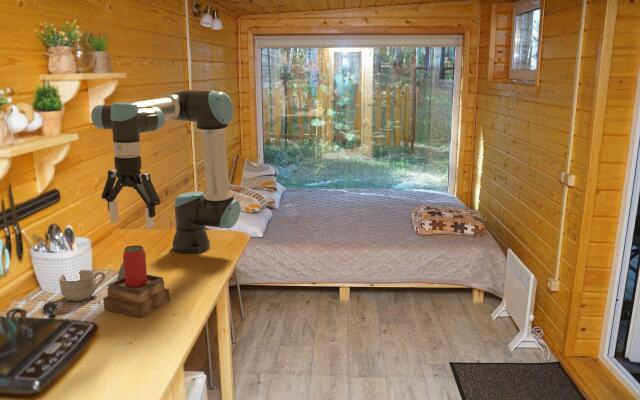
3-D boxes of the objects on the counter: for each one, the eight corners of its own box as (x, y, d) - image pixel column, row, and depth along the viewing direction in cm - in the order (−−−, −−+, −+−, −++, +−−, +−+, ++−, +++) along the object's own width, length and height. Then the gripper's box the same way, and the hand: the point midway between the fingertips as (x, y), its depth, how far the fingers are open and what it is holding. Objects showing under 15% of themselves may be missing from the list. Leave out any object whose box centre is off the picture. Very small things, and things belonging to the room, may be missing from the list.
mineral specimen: (143, 282, 193) (142, 260, 191) (117, 286, 190) (116, 264, 188) (141, 275, 200) (140, 254, 198) (116, 278, 196) (114, 257, 194)
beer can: (135, 290, 169) (132, 253, 166) (120, 285, 173) (117, 249, 170) (151, 283, 175) (149, 247, 172) (137, 278, 178) (135, 243, 175)
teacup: (62, 307, 173) (59, 283, 171) (60, 294, 182) (57, 271, 180) (109, 299, 179) (107, 276, 177) (104, 287, 189) (103, 265, 187)
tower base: (135, 293, 184) (133, 270, 182) (169, 300, 179) (168, 276, 177) (104, 309, 172) (102, 285, 170) (140, 318, 166) (138, 293, 164)
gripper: (85, 154, 165) (91, 222, 170) (153, 161, 156) (157, 233, 161) (103, 150, 172) (109, 216, 177) (170, 157, 162) (173, 226, 168)
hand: (132, 224), depth 169 cm, fingers open, 13 cm apart
